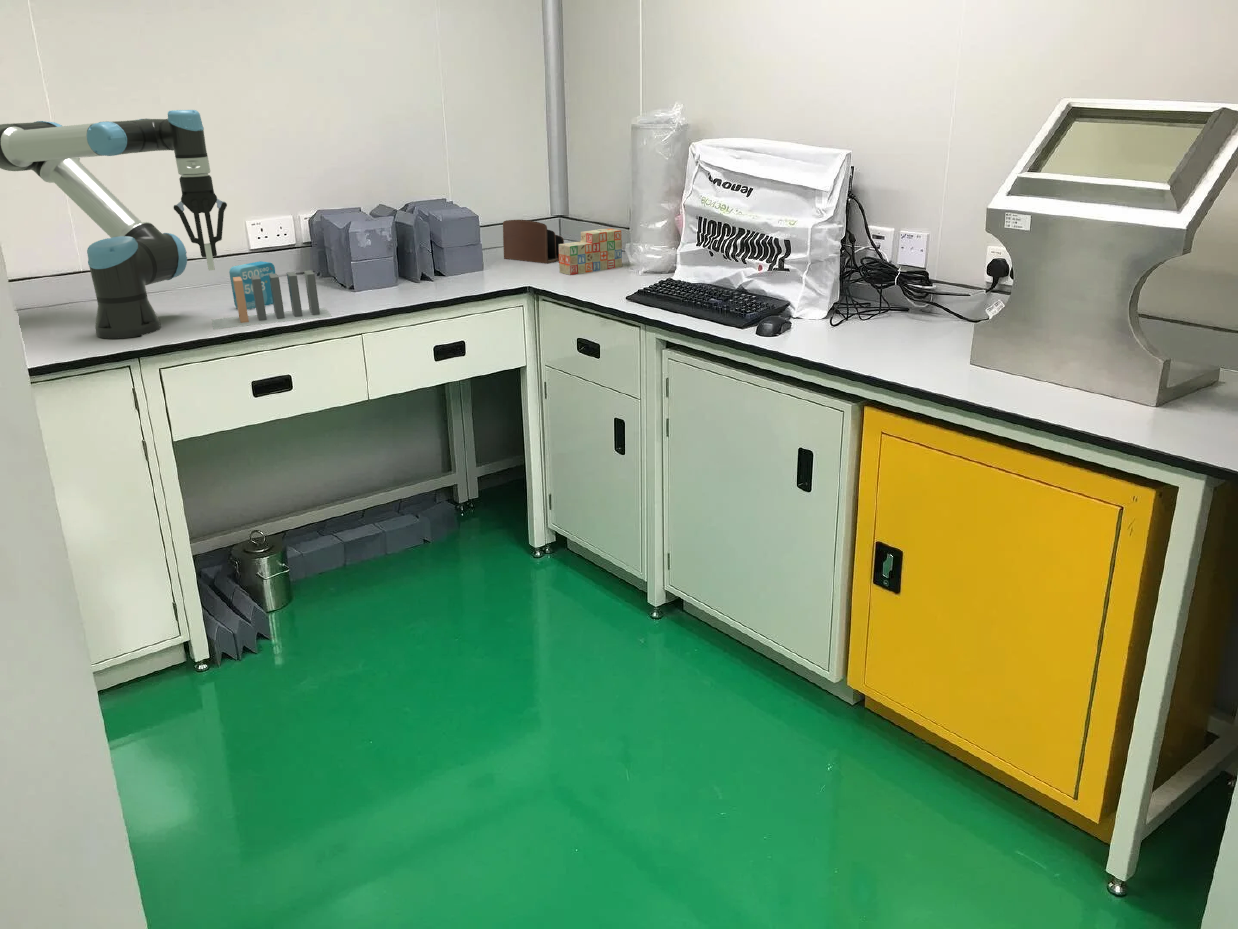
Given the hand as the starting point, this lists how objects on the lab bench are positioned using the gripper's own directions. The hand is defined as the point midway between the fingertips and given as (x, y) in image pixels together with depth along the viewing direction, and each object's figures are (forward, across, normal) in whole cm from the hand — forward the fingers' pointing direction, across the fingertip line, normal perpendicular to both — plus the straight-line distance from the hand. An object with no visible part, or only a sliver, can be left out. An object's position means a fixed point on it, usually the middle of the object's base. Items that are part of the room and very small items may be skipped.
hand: (211, 269), depth 255 cm
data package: (+15, +11, +18) cm, 26 cm away
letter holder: (+15, +106, +52) cm, 119 cm away
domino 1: (+14, +6, 0) cm, 15 cm away
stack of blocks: (+15, +115, +24) cm, 119 cm away
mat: (+15, +13, -1) cm, 19 cm away
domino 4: (+14, +20, 0) cm, 24 cm away
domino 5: (+14, +24, 0) cm, 28 cm away
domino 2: (+14, +10, 0) cm, 18 cm away
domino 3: (+14, +15, 0) cm, 21 cm away
